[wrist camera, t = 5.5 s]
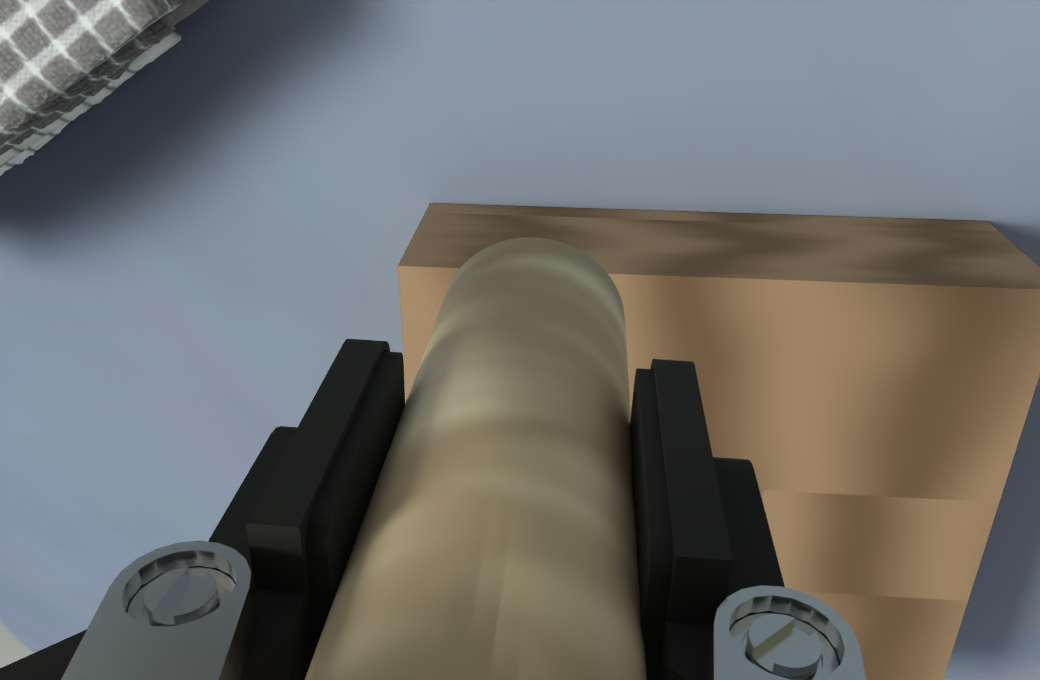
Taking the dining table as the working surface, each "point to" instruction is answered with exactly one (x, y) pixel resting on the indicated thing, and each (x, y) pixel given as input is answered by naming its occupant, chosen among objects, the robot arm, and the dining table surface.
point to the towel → (72, 60)
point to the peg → (503, 491)
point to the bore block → (817, 382)
